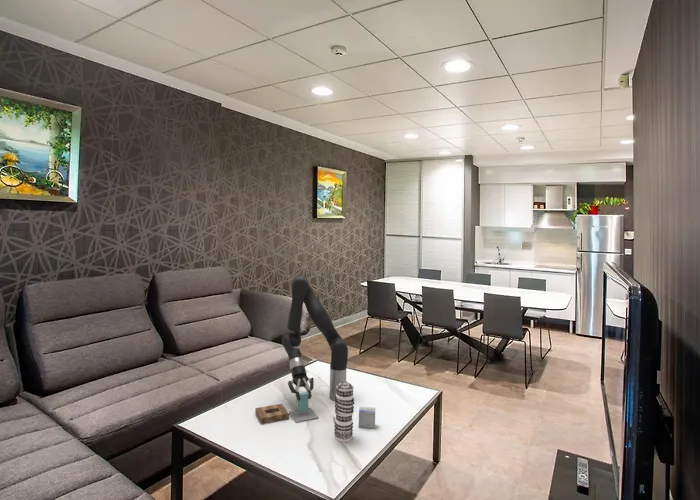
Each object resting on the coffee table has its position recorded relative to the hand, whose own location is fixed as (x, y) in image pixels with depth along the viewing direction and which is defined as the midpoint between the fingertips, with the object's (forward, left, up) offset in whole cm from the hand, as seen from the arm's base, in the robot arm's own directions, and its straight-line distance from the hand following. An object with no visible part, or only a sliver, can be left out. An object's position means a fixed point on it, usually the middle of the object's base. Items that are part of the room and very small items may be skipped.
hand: (304, 399), depth 211 cm
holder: (+15, -7, -9) cm, 19 cm away
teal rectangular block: (0, -2, -7) cm, 7 cm away
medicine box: (-25, +20, -10) cm, 34 cm away
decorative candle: (-10, +25, -10) cm, 29 cm away
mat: (0, -2, -9) cm, 10 cm away
